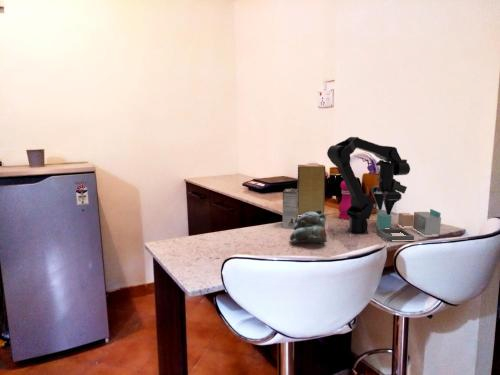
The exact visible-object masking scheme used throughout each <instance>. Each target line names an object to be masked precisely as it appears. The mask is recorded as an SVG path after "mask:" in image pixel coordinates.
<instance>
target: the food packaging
mask: <svg viewBox="0 0 500 375" xmlns="http://www.w3.org/2000/svg"><path fill="white" fill-rule="evenodd" d="M296 189H299V200H298V215H303V214H304V213H306V212H317V211H319V210H321V212H322V214H325V203H326V202H325V199H326V198H325V196H326V195H325V194H326V165H324V164H298V165H297V188H296Z"/></svg>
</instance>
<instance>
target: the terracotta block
mask: <svg viewBox="0 0 500 375" xmlns="http://www.w3.org/2000/svg"><path fill="white" fill-rule="evenodd" d="M397 218H398V219H397V220H398V221H397V225H398V224H399V225H401V226H402V227H404V226H413V221H414V214H412V213H410V212H398V217H397Z"/></svg>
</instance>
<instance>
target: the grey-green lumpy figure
mask: <svg viewBox="0 0 500 375" xmlns="http://www.w3.org/2000/svg"><path fill="white" fill-rule="evenodd" d="M326 220H327V214H325V213H324V214H322V212H321V210H319V211H317V212H306V213H304V214H303V215H302V216H300V217H298V218H297V219H295V225H294V228H293V229H294V231H293V232H292V233H291V234H290V235H289V239H290V242H289V243H291V244H292V245H293V244H297V243H321V244H325V243H326V242H328V240H327V233H326V227H325V225H326V222H327V221H326Z"/></svg>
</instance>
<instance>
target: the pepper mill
mask: <svg viewBox="0 0 500 375" xmlns="http://www.w3.org/2000/svg"><path fill="white" fill-rule="evenodd" d="M340 189H341V194H342V198H341V201H340V203H339V205H338V211H339V215H338V218H339V219H342V220H350V216H347V212H346V211H347V210H348V209H349V207H350V206H351V195H350V193H349V191H348V188H347V186H346V184H345V182H344V180H342V181H341V183H340Z"/></svg>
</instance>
